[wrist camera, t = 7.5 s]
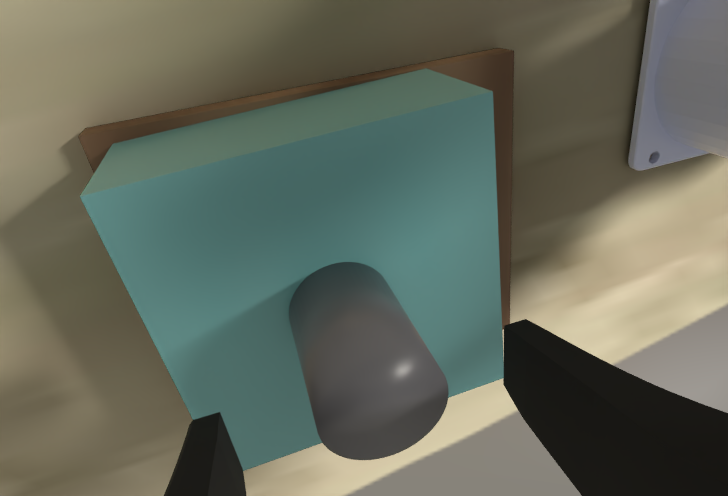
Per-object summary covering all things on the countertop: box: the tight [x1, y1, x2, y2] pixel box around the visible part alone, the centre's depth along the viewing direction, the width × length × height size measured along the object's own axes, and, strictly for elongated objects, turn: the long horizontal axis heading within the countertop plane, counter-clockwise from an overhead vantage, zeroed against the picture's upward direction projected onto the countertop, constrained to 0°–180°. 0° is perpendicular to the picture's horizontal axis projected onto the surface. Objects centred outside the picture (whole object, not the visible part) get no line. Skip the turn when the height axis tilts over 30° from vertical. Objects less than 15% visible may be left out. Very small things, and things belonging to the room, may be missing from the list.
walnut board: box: [78, 48, 514, 330], centre depth 19 cm, size 14×12×1 cm
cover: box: [80, 68, 504, 471], centre depth 14 cm, size 10×10×8 cm
